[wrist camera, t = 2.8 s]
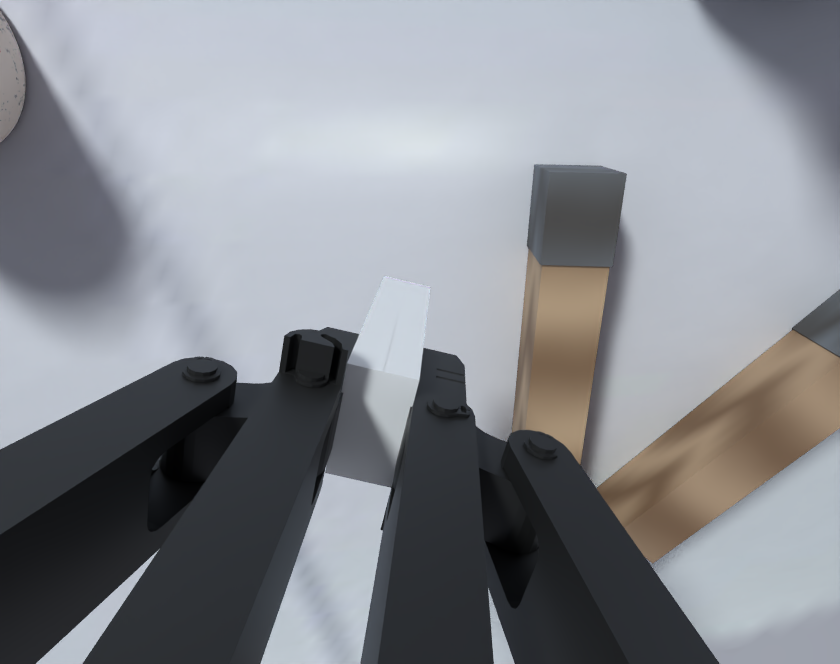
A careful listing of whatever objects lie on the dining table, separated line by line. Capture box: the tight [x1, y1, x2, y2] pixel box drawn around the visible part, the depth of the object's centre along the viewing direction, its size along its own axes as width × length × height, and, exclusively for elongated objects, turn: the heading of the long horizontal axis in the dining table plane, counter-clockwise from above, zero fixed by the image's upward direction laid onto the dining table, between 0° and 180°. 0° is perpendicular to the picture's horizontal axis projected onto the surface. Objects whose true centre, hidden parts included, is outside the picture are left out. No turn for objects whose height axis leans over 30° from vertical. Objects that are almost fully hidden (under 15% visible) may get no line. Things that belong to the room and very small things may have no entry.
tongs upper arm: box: [512, 165, 627, 464], centre depth 28 cm, size 23×6×6 cm, turn 179°
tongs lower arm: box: [597, 290, 840, 563], centre depth 29 cm, size 22×5×4 cm, turn 139°
